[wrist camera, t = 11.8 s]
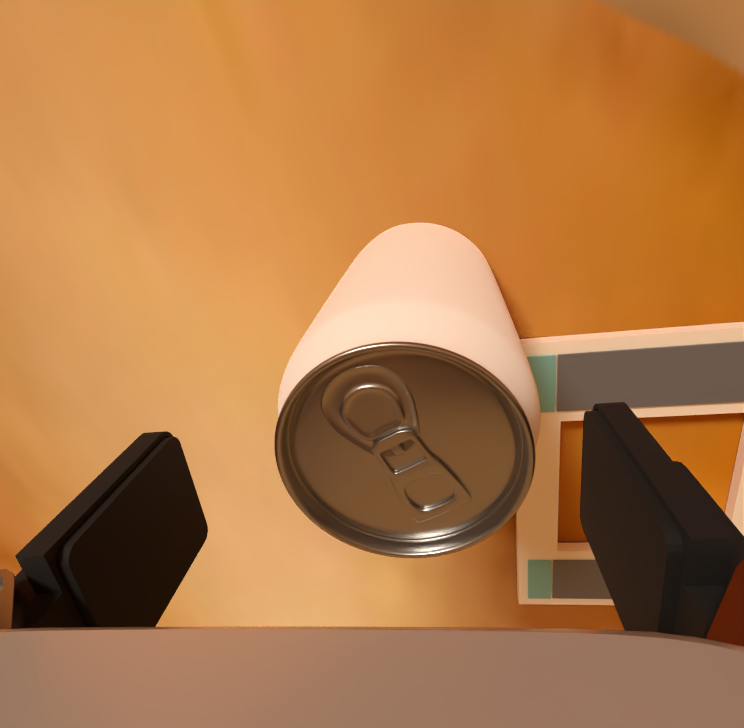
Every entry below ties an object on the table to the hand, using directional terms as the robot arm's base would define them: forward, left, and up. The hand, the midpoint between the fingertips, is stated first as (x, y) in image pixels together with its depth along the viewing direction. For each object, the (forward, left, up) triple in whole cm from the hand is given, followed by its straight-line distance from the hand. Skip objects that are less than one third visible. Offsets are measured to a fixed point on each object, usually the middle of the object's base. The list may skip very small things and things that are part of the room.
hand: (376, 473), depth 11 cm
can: (+1, -1, -12) cm, 12 cm away
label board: (-10, -11, -12) cm, 18 cm away
